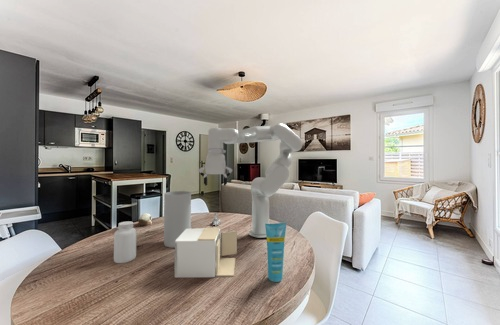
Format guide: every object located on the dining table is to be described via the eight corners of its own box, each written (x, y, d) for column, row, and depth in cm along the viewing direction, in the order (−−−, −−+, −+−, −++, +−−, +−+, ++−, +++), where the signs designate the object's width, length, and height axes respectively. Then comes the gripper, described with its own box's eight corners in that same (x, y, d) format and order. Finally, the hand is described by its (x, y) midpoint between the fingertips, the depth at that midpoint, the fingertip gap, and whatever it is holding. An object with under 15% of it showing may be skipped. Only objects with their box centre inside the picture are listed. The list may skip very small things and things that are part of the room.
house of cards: (227, 226, 132) (227, 214, 133) (213, 227, 130) (213, 215, 130) (224, 222, 141) (224, 211, 141) (211, 223, 138) (211, 211, 138)
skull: (140, 220, 138) (152, 209, 138) (150, 232, 136) (161, 221, 136) (128, 224, 126) (141, 212, 126) (139, 237, 124) (151, 225, 124)
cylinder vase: (183, 236, 112) (183, 190, 112) (195, 243, 103) (195, 192, 103) (159, 243, 103) (160, 192, 103) (170, 250, 94) (170, 195, 94)
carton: (235, 258, 86) (235, 227, 86) (233, 277, 72) (233, 239, 72) (186, 258, 86) (186, 227, 86) (174, 277, 72) (174, 239, 72)
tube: (267, 283, 69) (267, 225, 69) (263, 275, 73) (263, 221, 73) (288, 280, 70) (288, 224, 70) (282, 273, 75) (283, 220, 75)
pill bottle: (140, 256, 88) (140, 221, 88) (123, 265, 80) (123, 226, 80) (126, 253, 91) (126, 219, 91) (108, 262, 83) (109, 224, 83)
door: (216, 249, 93) (216, 227, 93) (231, 246, 96) (231, 226, 96) (220, 256, 86) (221, 233, 86) (236, 253, 88) (236, 231, 88)
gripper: (232, 152, 111) (232, 184, 111) (200, 152, 111) (200, 184, 111) (231, 152, 104) (231, 186, 104) (197, 151, 103) (197, 186, 103)
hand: (215, 185), depth 107 cm, fingers open, 9 cm apart
